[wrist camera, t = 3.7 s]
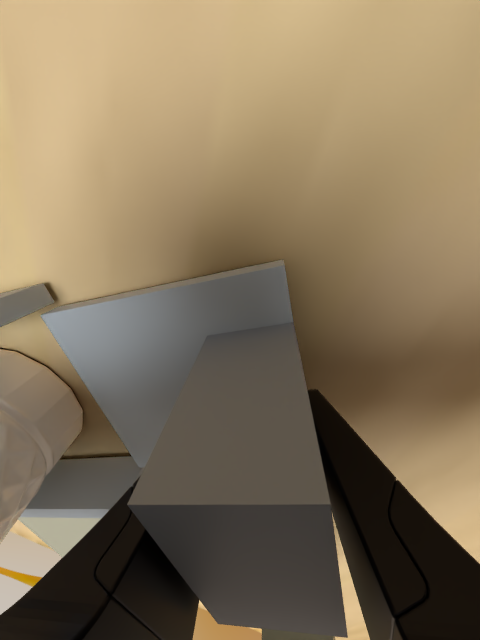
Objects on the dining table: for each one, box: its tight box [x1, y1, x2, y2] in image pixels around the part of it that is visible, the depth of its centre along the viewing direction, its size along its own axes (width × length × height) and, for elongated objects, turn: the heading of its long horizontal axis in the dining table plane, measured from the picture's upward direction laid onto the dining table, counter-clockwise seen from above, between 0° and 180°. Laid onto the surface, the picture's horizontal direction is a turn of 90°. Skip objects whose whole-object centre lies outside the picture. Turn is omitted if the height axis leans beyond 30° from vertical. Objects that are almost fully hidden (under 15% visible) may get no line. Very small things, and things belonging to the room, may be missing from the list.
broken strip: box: [18, 517, 335, 640], centre depth 14 cm, size 21×9×6 cm, turn 103°
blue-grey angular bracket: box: [0, 259, 348, 638], centre depth 9 cm, size 20×11×6 cm, turn 103°
